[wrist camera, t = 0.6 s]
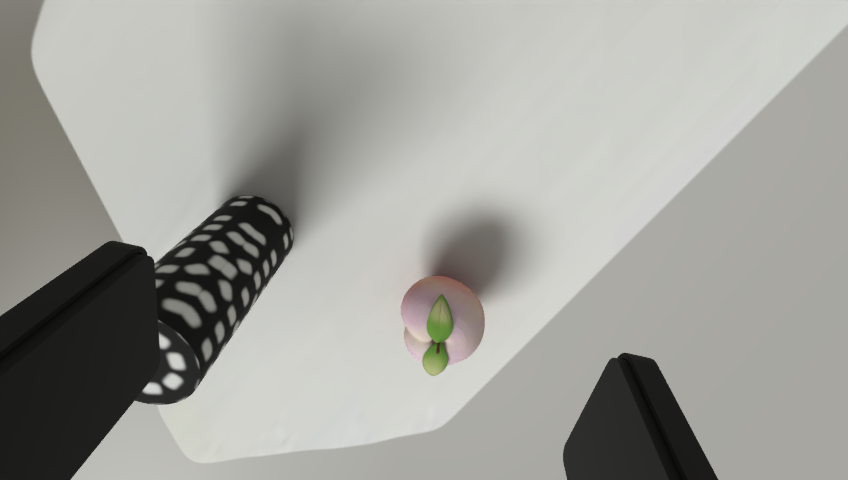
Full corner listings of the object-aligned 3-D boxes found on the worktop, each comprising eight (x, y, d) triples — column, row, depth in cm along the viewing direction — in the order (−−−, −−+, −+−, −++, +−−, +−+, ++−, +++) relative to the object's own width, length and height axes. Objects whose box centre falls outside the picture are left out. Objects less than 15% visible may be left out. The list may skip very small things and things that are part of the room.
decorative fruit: (483, 326, 54) (487, 391, 45) (411, 327, 54) (401, 392, 46) (481, 253, 49) (485, 309, 41) (403, 256, 50) (391, 311, 41)
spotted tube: (298, 266, 52) (212, 407, 34) (225, 265, 52) (102, 402, 35) (286, 195, 48) (183, 311, 30) (207, 195, 49) (61, 308, 31)
